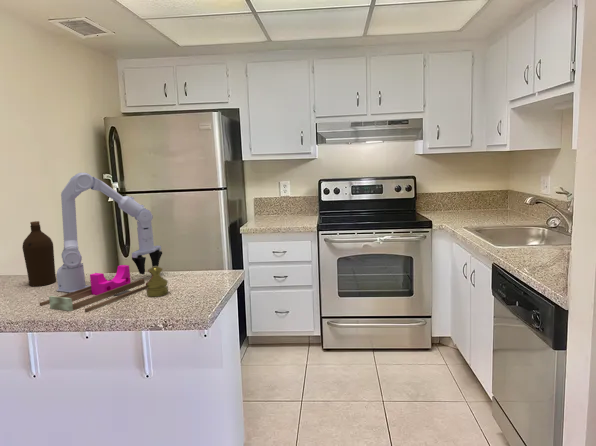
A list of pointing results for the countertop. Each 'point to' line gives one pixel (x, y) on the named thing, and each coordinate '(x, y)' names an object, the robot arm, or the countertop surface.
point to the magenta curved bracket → (102, 285)
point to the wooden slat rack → (66, 300)
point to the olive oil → (39, 257)
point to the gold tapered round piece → (156, 283)
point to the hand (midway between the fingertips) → (148, 271)
